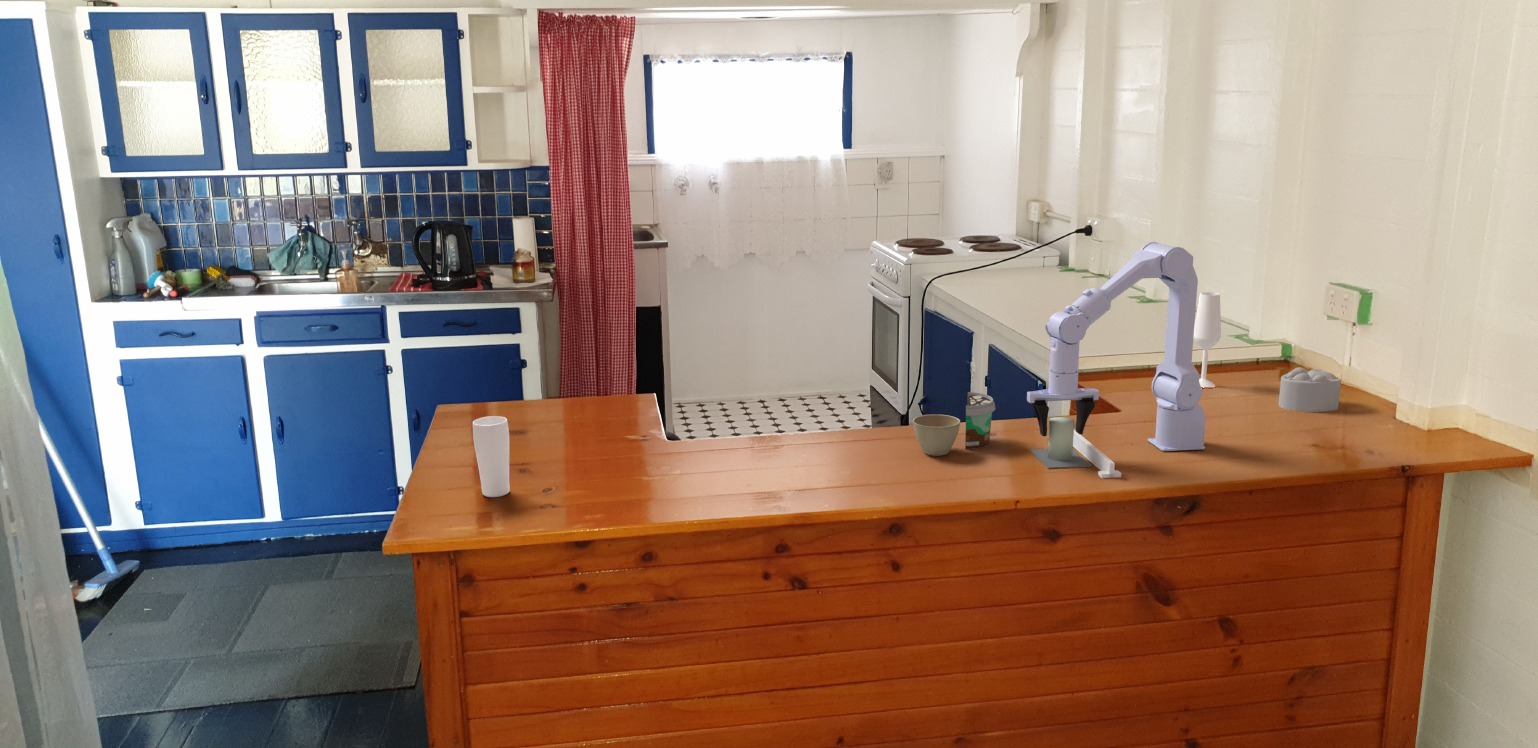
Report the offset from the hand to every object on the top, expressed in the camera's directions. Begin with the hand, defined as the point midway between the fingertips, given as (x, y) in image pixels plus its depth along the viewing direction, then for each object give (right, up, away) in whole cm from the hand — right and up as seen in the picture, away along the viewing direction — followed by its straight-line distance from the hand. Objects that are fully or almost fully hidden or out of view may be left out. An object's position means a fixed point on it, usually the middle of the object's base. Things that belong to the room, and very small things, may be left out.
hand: (1061, 434), depth 233 cm
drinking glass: (-115, -11, -12) cm, 116 cm away
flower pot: (-25, -5, +7) cm, 26 cm away
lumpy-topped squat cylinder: (+68, +5, +36) cm, 77 cm away
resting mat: (0, -5, +1) cm, 5 cm away
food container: (-14, -3, +13) cm, 20 cm away
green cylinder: (0, -5, +1) cm, 5 cm away
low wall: (+6, -5, +2) cm, 8 cm away
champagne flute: (+51, +9, +56) cm, 76 cm away
